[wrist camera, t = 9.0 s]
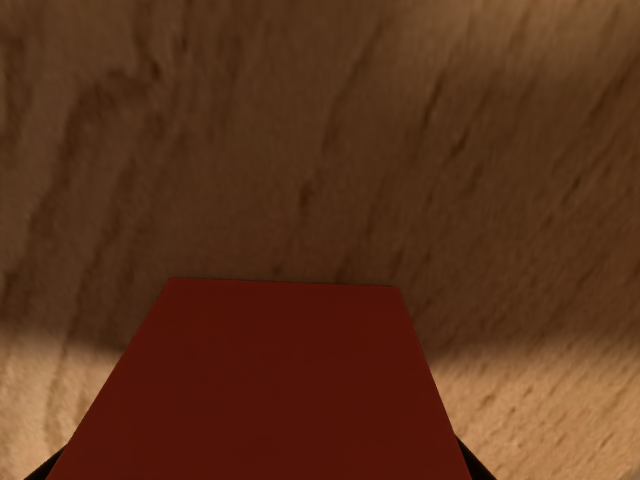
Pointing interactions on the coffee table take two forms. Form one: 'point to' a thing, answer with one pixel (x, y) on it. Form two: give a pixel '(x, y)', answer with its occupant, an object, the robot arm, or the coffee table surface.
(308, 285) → the block
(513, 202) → the coffee table surface
